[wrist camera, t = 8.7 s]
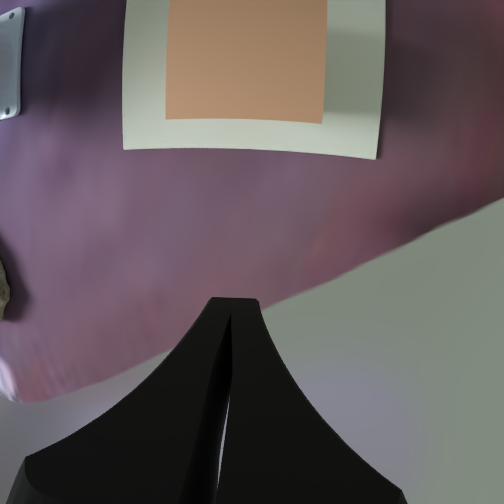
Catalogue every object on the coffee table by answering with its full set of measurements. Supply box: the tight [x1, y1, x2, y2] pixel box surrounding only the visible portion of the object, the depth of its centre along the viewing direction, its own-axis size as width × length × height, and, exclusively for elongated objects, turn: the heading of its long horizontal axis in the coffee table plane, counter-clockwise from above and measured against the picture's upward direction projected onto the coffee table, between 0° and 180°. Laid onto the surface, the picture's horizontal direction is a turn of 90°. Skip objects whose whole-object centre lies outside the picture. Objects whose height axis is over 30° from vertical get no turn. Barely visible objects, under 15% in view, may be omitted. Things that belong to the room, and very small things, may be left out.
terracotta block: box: [166, 0, 327, 124], centre depth 11 cm, size 4×4×8 cm
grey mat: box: [122, 0, 385, 160], centre depth 14 cm, size 14×12×1 cm
